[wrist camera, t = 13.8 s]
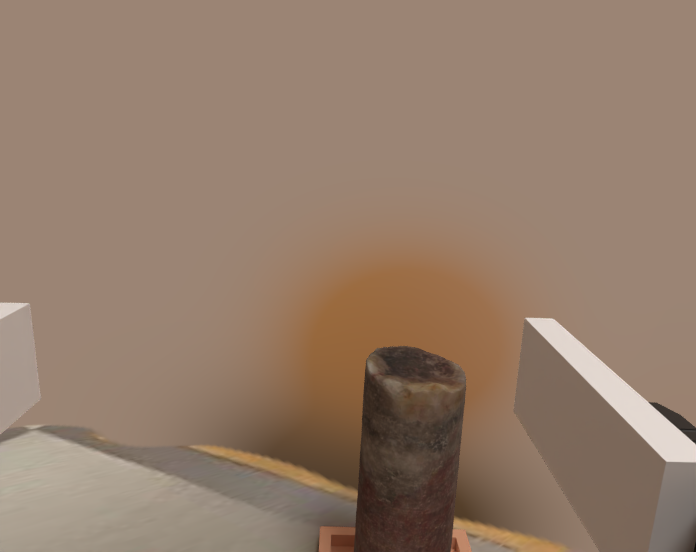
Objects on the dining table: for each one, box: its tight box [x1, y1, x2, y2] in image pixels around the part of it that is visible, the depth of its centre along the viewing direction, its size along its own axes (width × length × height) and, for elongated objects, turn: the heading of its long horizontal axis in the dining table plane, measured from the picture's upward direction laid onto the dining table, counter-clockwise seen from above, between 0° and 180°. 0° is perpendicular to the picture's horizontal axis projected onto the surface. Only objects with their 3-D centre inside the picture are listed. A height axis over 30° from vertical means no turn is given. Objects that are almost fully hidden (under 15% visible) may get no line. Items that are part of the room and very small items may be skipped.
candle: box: [354, 346, 466, 552], centre depth 41 cm, size 8×7×20 cm
